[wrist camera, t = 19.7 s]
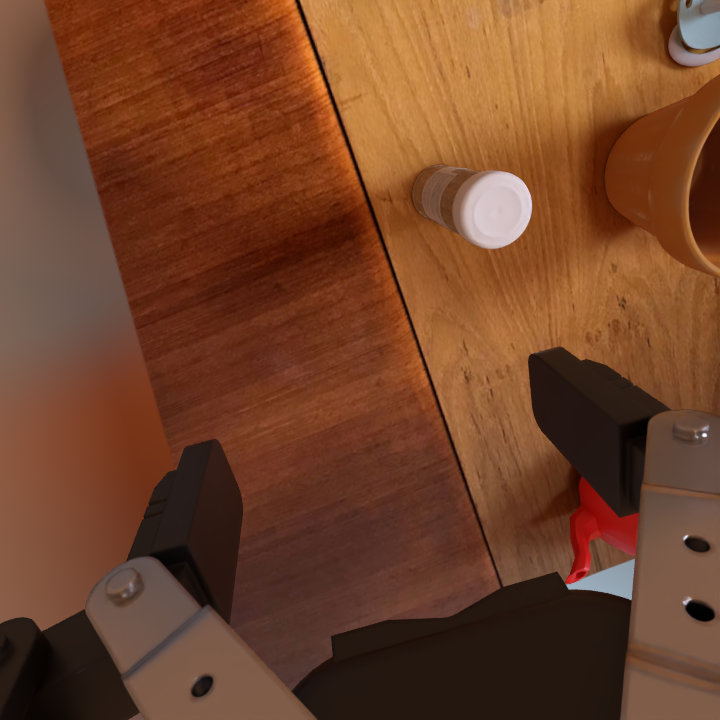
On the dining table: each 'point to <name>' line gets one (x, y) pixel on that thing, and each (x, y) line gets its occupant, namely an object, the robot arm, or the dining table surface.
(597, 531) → the teapot
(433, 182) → the sprinkles bottle
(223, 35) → the dining table surface
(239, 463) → the dining table surface
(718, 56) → the pacifier
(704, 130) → the flower pot
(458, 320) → the dining table surface
